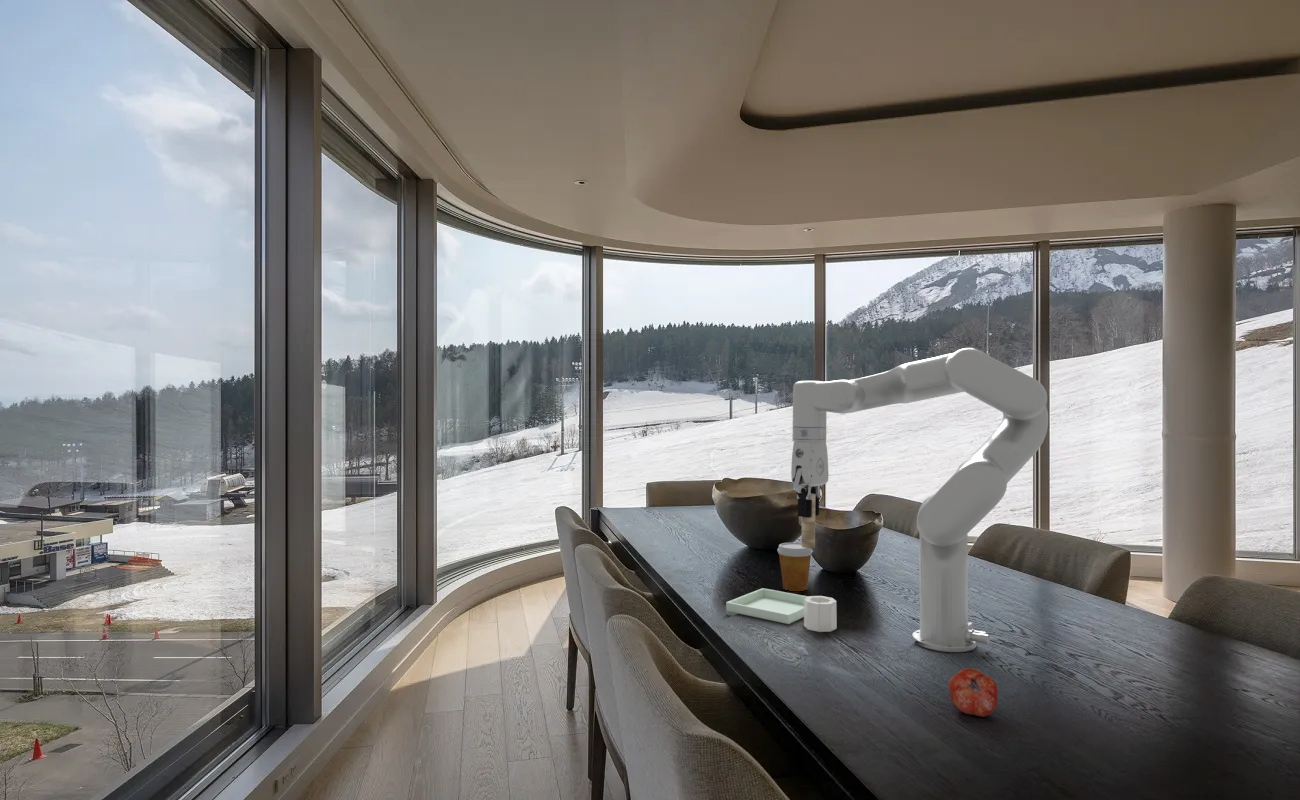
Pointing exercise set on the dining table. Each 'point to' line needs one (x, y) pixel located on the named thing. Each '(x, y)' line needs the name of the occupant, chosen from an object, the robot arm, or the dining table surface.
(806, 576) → the disposable coffee cup
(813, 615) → the cup holder
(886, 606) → the dining table surface
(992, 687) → the red tomato
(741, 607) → the tray
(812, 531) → the wooden pin
